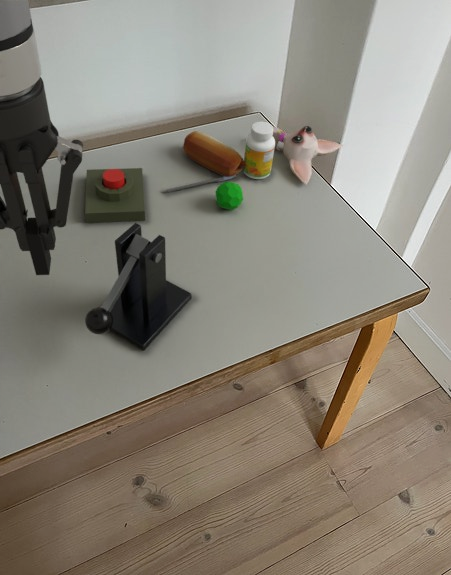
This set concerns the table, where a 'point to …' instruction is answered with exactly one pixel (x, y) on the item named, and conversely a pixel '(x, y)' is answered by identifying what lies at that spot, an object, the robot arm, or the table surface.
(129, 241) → the switch bracket
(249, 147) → the supplement bottle
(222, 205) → the polyhedron
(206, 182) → the pen
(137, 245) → the lever
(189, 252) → the table surface
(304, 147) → the toy dog
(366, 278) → the table surface
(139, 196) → the control box
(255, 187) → the table surface
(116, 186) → the button
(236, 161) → the hot dog
